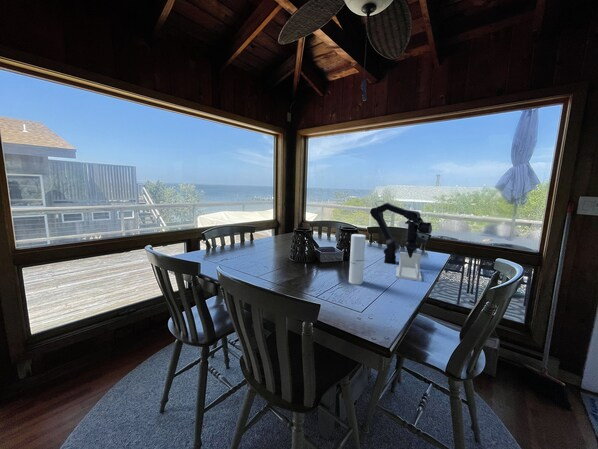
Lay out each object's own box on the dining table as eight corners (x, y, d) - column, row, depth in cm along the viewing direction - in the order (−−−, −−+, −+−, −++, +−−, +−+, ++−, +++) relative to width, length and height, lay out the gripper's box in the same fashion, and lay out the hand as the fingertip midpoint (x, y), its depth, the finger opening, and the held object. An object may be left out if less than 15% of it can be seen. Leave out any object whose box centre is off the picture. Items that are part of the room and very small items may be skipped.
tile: (399, 266, 162) (400, 252, 160) (399, 265, 164) (400, 251, 162) (419, 269, 157) (421, 254, 156) (419, 267, 160) (420, 254, 158)
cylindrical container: (362, 285, 129) (366, 237, 126) (348, 283, 131) (351, 236, 127) (362, 280, 136) (365, 234, 132) (348, 278, 138) (351, 233, 134)
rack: (395, 277, 141) (396, 267, 140) (396, 268, 158) (397, 259, 157) (421, 281, 137) (422, 271, 136) (419, 271, 153) (420, 261, 152)
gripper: (428, 235, 146) (425, 261, 148) (425, 230, 163) (423, 253, 165) (407, 233, 150) (404, 259, 152) (406, 228, 167) (404, 251, 169)
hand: (410, 255), depth 160 cm, fingers open, 9 cm apart
